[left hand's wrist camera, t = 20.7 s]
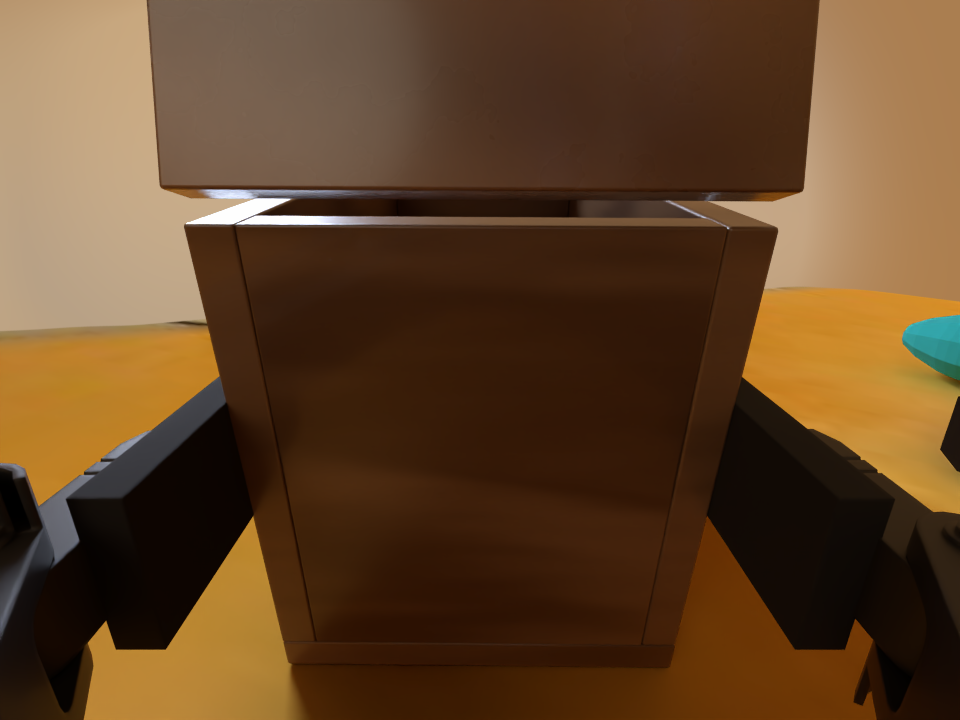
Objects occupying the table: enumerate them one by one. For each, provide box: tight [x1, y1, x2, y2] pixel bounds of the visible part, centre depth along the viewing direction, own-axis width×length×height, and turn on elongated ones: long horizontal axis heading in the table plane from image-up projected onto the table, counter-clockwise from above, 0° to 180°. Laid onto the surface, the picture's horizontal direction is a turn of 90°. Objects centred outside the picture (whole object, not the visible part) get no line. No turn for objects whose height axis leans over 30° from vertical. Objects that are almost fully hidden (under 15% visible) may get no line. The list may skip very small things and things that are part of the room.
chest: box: [184, 199, 778, 667], centre depth 18 cm, size 17×10×11 cm, turn 179°
